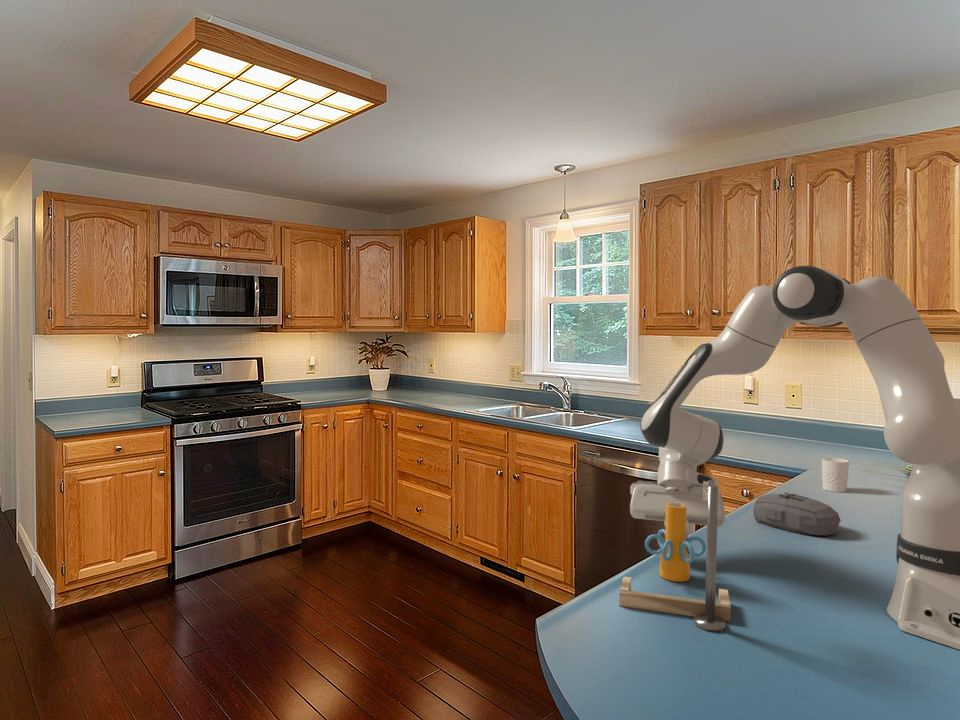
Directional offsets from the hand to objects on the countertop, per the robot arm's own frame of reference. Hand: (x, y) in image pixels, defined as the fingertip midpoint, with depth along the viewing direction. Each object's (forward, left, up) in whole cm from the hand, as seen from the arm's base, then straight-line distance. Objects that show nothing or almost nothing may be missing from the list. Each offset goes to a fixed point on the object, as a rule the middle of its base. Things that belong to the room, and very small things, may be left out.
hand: (675, 538), depth 134 cm
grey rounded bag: (+7, -50, -6) cm, 51 cm away
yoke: (-15, +15, -6) cm, 22 cm away
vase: (-5, +5, -6) cm, 10 cm away
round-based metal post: (-22, +14, -6) cm, 26 cm away
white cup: (+28, -98, -6) cm, 102 cm away
